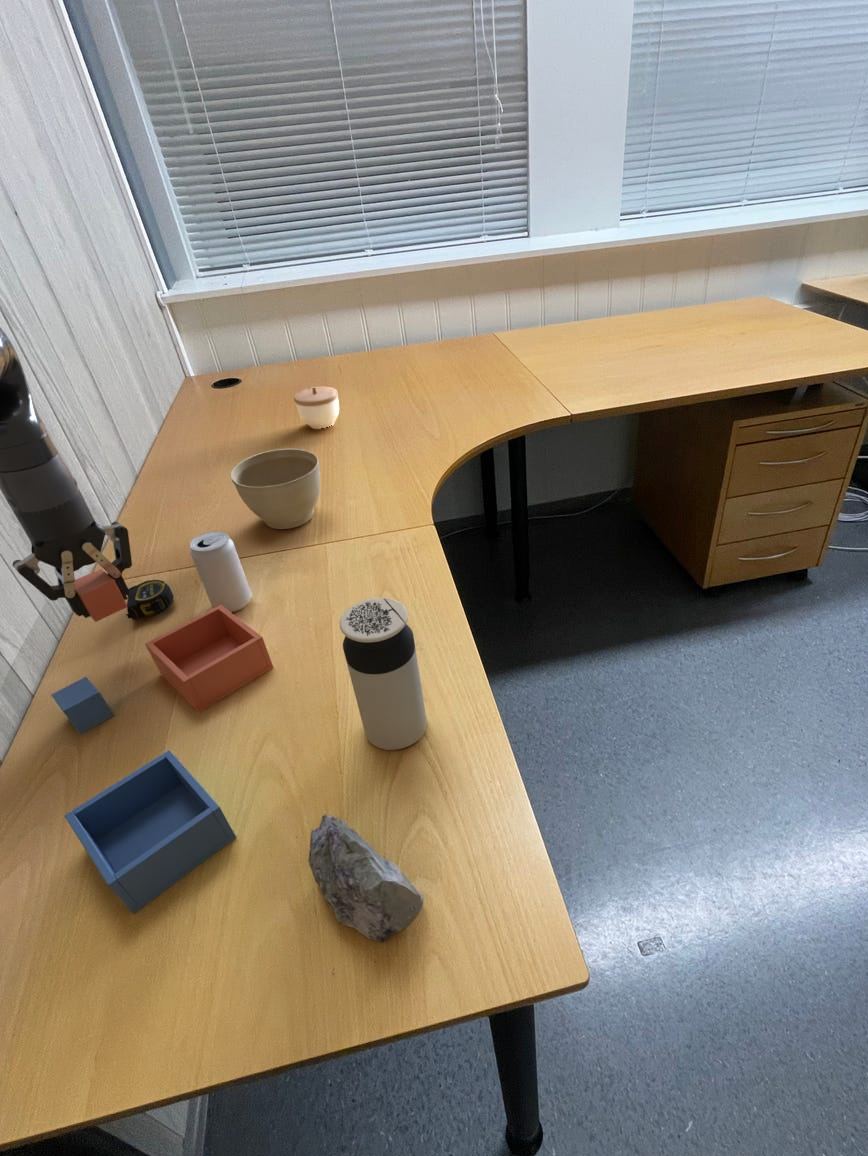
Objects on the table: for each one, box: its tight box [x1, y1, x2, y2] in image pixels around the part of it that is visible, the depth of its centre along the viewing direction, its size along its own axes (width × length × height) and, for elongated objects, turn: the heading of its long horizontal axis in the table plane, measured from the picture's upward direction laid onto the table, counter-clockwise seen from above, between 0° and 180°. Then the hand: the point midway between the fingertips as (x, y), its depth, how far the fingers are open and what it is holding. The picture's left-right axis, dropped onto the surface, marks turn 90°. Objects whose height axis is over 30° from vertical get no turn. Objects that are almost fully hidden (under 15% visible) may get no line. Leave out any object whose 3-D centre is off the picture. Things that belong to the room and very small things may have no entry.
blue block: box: [50, 676, 115, 735], centre depth 82 cm, size 4×4×4 cm
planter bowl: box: [230, 448, 321, 530], centre depth 119 cm, size 16×16×11 cm
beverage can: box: [189, 531, 253, 613], centre depth 98 cm, size 6×6×12 cm
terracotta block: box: [74, 568, 128, 623], centre depth 85 cm, size 4×4×4 cm
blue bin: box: [63, 749, 237, 915], centre depth 67 cm, size 12×12×6 cm
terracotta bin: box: [144, 605, 274, 713], centre depth 88 cm, size 12×12×6 cm
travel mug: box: [339, 597, 428, 751], centre depth 74 cm, size 8×8×18 cm
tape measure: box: [125, 579, 175, 621], centre depth 101 cm, size 7×7×4 cm
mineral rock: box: [308, 814, 424, 943], centre depth 60 cm, size 13×11×10 cm
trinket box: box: [293, 386, 340, 430], centre depth 156 cm, size 11×11×9 cm
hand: (104, 606), depth 86 cm, fingers closed on terracotta block, 4 cm apart
